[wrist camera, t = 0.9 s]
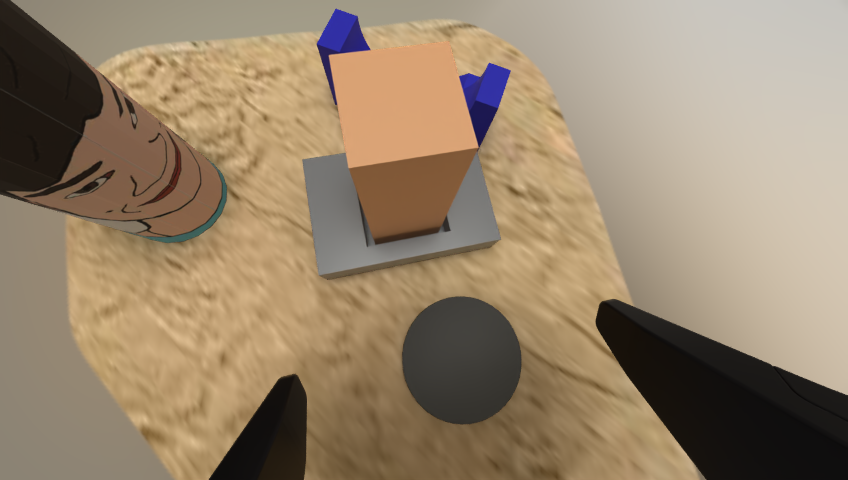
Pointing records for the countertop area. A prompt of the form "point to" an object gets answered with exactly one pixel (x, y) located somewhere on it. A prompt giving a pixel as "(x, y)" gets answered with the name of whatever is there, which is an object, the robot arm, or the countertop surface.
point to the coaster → (461, 360)
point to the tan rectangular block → (404, 135)
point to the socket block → (350, 234)
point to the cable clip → (477, 90)
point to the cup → (93, 143)
